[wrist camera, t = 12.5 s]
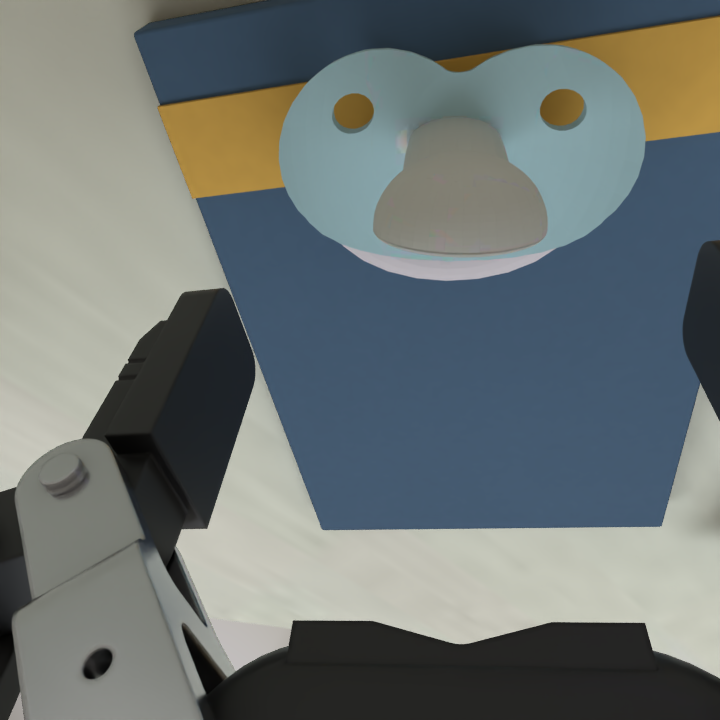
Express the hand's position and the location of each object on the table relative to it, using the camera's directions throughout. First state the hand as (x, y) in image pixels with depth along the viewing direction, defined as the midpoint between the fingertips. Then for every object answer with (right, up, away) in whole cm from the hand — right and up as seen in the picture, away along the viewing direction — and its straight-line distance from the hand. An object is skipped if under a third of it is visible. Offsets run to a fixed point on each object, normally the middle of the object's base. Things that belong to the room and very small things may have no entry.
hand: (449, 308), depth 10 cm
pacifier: (+1, +4, +4) cm, 6 cm away
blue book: (+2, 0, +9) cm, 9 cm away
